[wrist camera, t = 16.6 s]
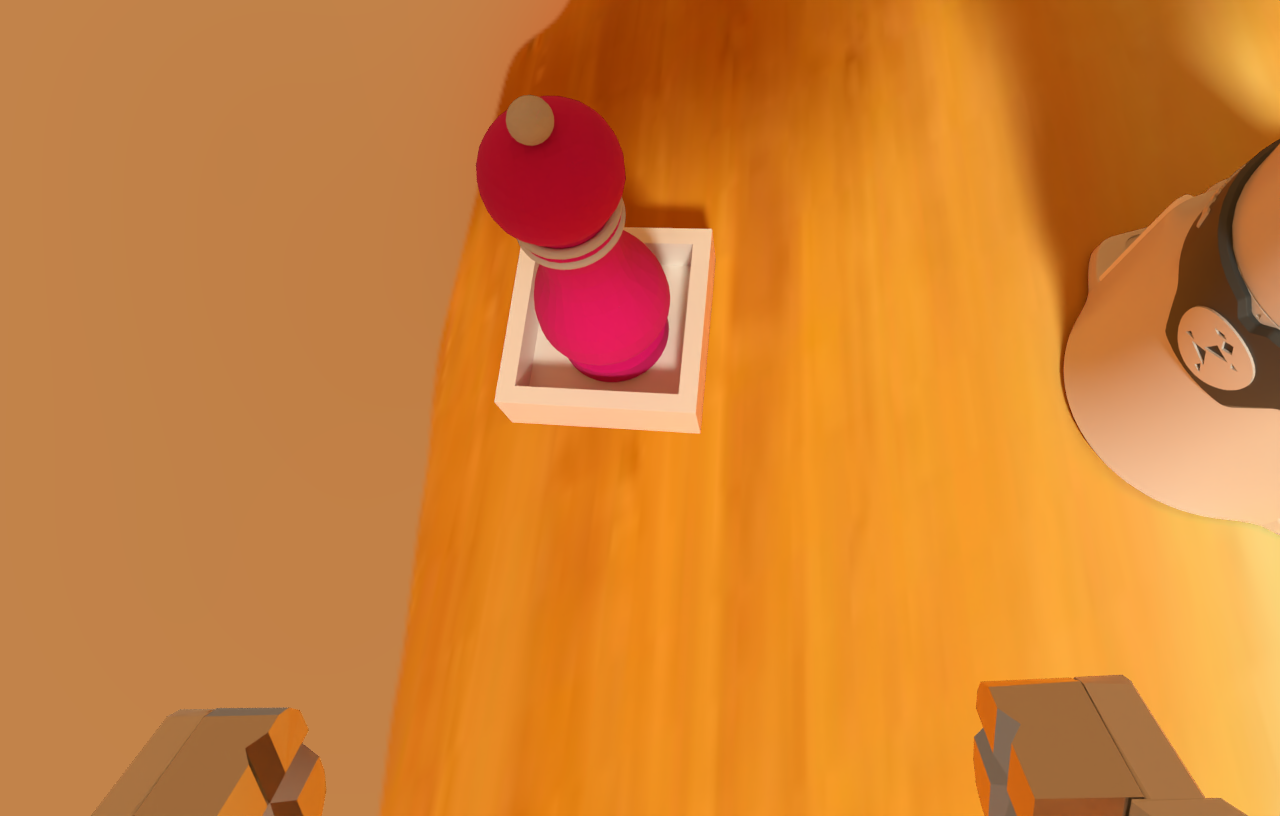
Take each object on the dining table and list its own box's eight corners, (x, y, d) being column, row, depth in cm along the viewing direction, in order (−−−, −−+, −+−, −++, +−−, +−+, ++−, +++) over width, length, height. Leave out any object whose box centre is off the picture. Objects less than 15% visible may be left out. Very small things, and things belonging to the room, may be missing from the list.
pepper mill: (545, 295, 50) (415, 55, 32) (662, 264, 50) (600, 1, 31) (567, 405, 48) (441, 214, 29) (691, 373, 47) (643, 159, 29)
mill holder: (715, 259, 51) (712, 229, 47) (700, 433, 47) (695, 413, 44) (539, 255, 52) (524, 225, 49) (512, 422, 49) (494, 401, 46)
